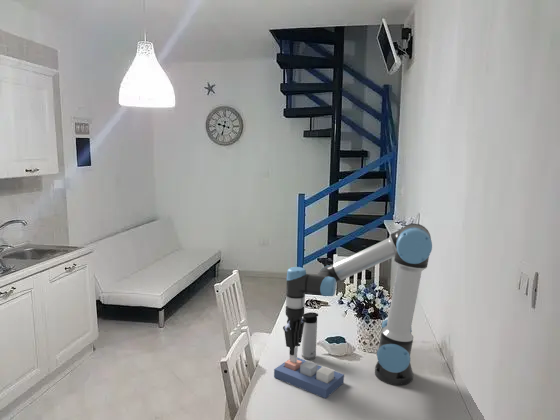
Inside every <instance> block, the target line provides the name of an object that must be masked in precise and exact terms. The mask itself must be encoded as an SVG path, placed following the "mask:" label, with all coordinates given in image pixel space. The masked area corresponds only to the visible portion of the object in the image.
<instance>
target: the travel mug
mask: <svg viewBox="0 0 560 420" xmlns="http://www.w3.org/2000/svg"><path fill="white" fill-rule="evenodd" d="M318 317H319V313H316V312H311V311H310V312H304V316H303V317H302V318H304V319H305V323H304V328H303V334H302V340H301V358H302V359H303V360H307V361H309V360H314V359H315V358H316V357H317V333H318V331H317V329H318Z"/></svg>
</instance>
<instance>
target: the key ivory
mask: <svg viewBox="0 0 560 420" xmlns="http://www.w3.org/2000/svg"><path fill="white" fill-rule="evenodd" d="M334 371H335V370H334V369H332V368H329V367H326V366H324V365H323V366H322V367H321V368H320V369H319V370H317V373H316V379H317V380H319V381H322V382H325V383H327V384H328V383H329V382H331V381H332V380H333V379H334Z"/></svg>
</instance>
